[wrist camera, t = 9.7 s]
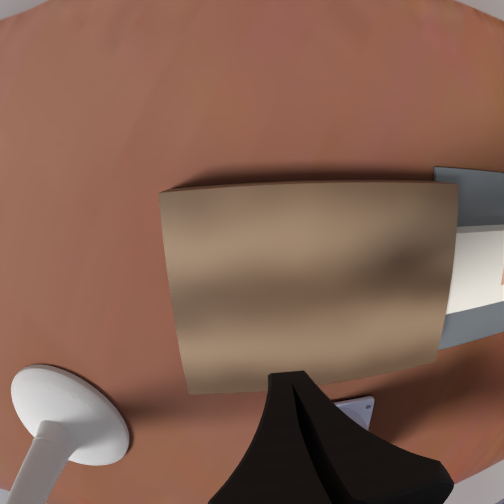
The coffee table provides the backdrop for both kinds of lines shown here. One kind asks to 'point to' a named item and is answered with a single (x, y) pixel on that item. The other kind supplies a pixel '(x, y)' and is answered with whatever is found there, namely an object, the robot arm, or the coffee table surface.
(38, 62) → the coffee table surface
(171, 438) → the coffee table surface
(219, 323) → the brown box
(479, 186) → the mat
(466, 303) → the white box with patch
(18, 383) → the candlestick
